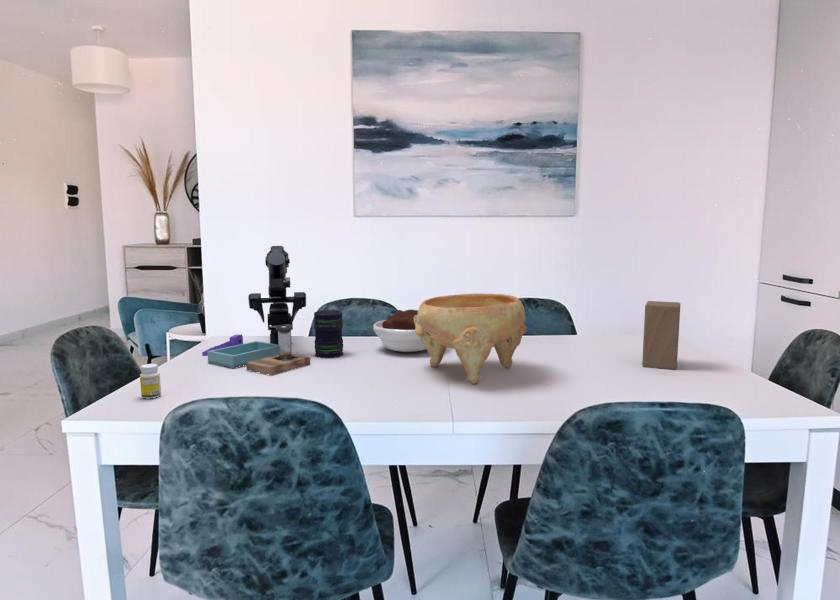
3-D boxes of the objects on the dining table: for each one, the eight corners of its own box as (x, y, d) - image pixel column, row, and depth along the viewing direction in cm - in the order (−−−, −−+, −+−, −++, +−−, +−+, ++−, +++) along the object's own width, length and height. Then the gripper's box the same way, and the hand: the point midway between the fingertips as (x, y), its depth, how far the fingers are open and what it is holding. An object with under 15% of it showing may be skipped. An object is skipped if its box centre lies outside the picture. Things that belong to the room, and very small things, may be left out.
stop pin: (286, 362, 187) (284, 323, 185) (297, 365, 184) (296, 325, 182) (273, 366, 183) (272, 326, 181) (285, 368, 180) (283, 327, 178)
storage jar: (309, 356, 196) (307, 313, 194) (324, 351, 205) (323, 309, 203) (334, 359, 192) (333, 315, 190) (348, 353, 201) (347, 311, 199)
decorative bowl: (462, 353, 200) (463, 288, 197) (548, 371, 176) (550, 297, 173) (389, 370, 177) (389, 297, 174) (476, 394, 152) (477, 308, 149)
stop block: (286, 360, 191) (286, 352, 191) (310, 364, 185) (310, 356, 184) (246, 370, 177) (246, 362, 177) (270, 375, 171) (270, 367, 171)
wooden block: (677, 363, 186) (680, 302, 183) (676, 370, 177) (680, 306, 174) (644, 360, 190) (647, 300, 187) (642, 367, 181) (645, 304, 178)
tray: (256, 352, 203) (256, 341, 203) (282, 356, 196) (281, 345, 195) (208, 363, 187) (207, 351, 186) (233, 368, 179) (233, 356, 179)
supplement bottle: (145, 394, 153) (143, 363, 152) (163, 393, 153) (162, 363, 152) (138, 399, 148) (136, 367, 147) (157, 399, 148) (155, 367, 147)
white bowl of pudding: (361, 354, 199) (361, 311, 197) (389, 341, 222) (389, 302, 220) (429, 360, 190) (429, 315, 188) (451, 345, 214) (451, 305, 212)
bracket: (243, 352, 204) (242, 333, 203) (236, 357, 197) (235, 337, 196) (210, 352, 205) (209, 333, 204) (202, 356, 198) (201, 337, 197)
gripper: (247, 269, 188) (246, 308, 180) (305, 268, 193) (307, 307, 184) (249, 289, 197) (249, 327, 189) (304, 287, 202) (306, 325, 193)
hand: (278, 321), depth 188 cm, fingers open, 9 cm apart
